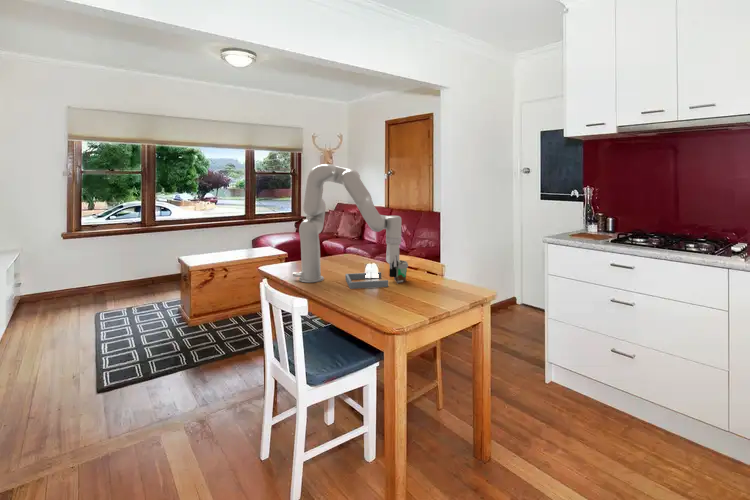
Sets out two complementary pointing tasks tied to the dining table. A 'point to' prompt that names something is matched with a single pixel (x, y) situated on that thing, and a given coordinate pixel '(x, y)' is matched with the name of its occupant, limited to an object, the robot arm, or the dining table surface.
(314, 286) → the dining table surface
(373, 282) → the low box
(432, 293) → the dining table surface
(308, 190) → the robot arm
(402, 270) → the food container
